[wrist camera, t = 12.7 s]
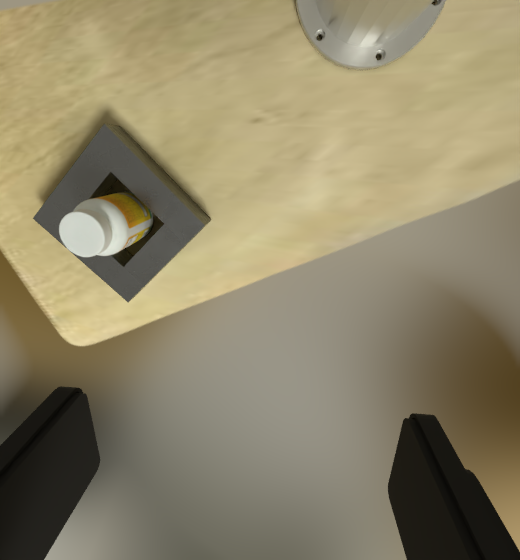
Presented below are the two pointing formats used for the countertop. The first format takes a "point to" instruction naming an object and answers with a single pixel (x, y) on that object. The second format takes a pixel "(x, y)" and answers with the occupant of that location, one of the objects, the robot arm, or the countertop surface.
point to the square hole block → (146, 187)
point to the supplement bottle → (105, 225)
